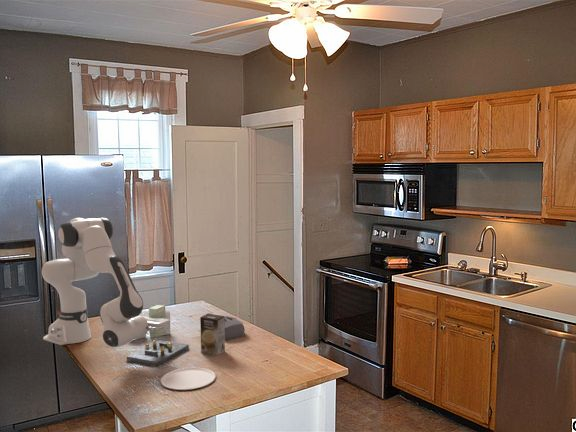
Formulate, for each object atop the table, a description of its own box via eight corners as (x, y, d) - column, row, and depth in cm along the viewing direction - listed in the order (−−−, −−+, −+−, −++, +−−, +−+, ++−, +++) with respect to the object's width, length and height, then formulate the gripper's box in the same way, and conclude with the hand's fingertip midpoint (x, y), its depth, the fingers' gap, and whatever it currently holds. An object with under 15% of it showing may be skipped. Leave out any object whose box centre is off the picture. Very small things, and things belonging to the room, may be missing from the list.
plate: (219, 388, 196) (219, 384, 195) (162, 395, 190) (162, 392, 189) (211, 367, 215) (211, 364, 215) (159, 373, 209) (159, 370, 209)
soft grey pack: (249, 336, 253) (228, 325, 269) (248, 319, 252) (228, 309, 268) (221, 342, 244) (201, 331, 260) (220, 325, 243) (201, 315, 259)
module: (149, 335, 226) (148, 308, 225) (158, 331, 231) (157, 304, 230) (157, 336, 224) (156, 309, 223) (166, 332, 230) (165, 305, 228)
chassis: (126, 361, 222) (126, 349, 221) (159, 344, 242) (159, 333, 242) (157, 366, 216) (157, 354, 215) (188, 349, 236) (188, 338, 235)
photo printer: (168, 331, 260) (168, 307, 259) (172, 334, 256) (171, 309, 255) (148, 335, 254) (147, 310, 253) (151, 338, 251) (150, 312, 249)
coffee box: (200, 352, 231) (199, 317, 229) (208, 348, 236) (207, 313, 235) (218, 356, 227) (217, 319, 225) (225, 351, 233) (225, 315, 231)
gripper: (157, 322, 211) (178, 313, 223) (117, 316, 219) (139, 308, 232) (158, 337, 211) (179, 327, 224) (118, 331, 220) (140, 322, 232)
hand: (158, 317), depth 228 cm, fingers closed on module, 4 cm apart
